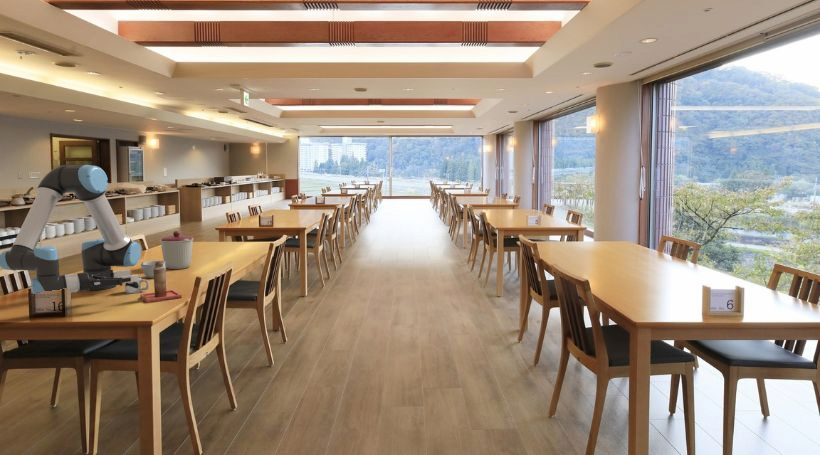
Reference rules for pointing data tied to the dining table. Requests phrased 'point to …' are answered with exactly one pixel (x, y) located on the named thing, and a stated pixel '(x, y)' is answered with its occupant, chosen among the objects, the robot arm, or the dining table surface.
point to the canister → (177, 250)
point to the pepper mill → (159, 280)
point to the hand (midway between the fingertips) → (134, 275)
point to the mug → (135, 286)
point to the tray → (151, 297)
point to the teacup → (150, 268)
